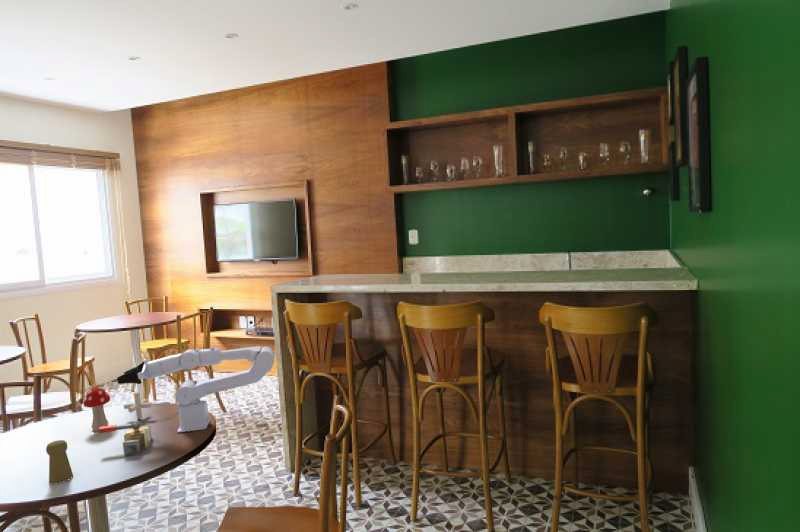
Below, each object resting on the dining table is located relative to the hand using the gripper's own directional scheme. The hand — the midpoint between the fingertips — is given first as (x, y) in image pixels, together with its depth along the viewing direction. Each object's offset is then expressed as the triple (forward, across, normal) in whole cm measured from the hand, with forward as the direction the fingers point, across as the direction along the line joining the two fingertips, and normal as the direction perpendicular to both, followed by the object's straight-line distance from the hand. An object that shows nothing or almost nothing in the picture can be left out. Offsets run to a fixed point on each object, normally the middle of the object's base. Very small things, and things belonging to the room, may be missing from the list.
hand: (121, 378), depth 191 cm
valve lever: (+1, +11, +14) cm, 18 cm away
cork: (+14, +28, +20) cm, 37 cm away
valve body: (-3, +11, +21) cm, 24 cm away
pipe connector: (+4, -19, +20) cm, 28 cm away
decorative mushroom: (+16, -15, +18) cm, 28 cm away
